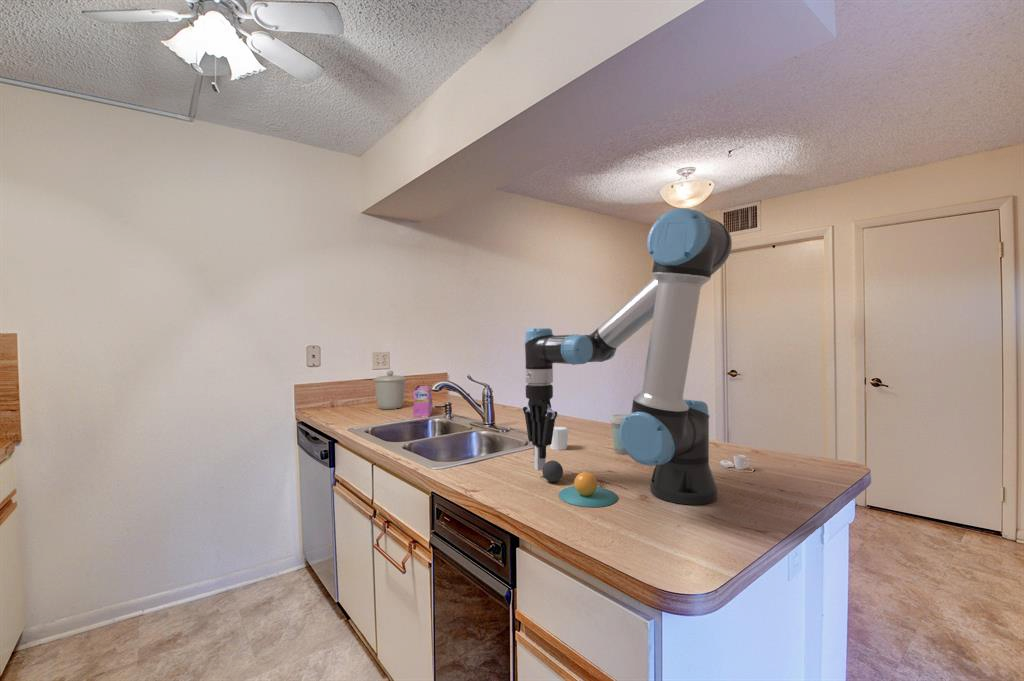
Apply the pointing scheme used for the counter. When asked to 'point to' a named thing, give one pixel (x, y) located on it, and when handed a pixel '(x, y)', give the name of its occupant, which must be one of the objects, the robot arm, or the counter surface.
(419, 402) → the gum box
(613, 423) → the coffee cup
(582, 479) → the orange ball
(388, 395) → the canister
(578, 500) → the teal mark
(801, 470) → the counter surface
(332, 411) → the counter surface
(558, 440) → the white tapered cylinder
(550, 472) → the dark gray ball
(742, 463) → the teacup and saucer
